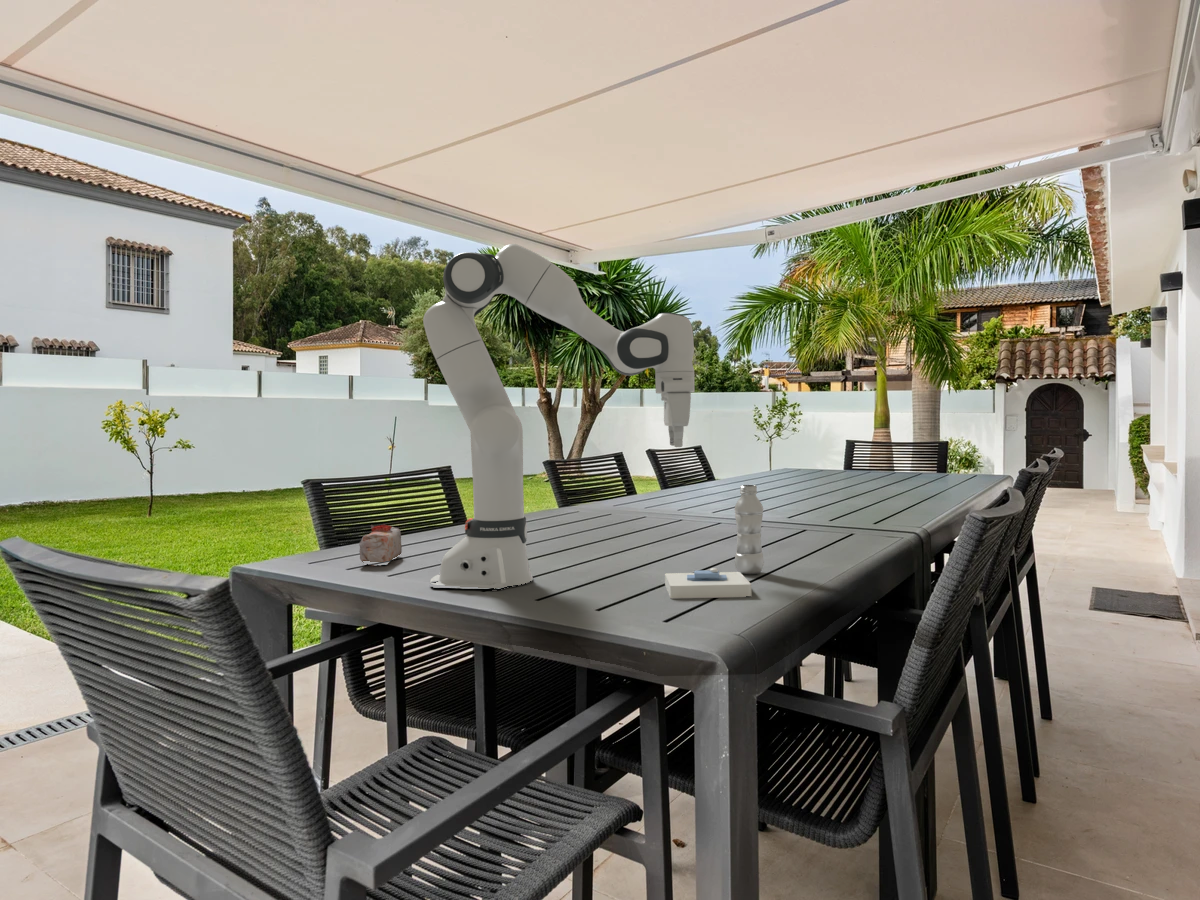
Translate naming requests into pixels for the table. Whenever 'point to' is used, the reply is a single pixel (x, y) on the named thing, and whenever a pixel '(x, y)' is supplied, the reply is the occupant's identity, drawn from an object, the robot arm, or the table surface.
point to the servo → (706, 575)
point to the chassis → (707, 586)
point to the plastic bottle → (749, 531)
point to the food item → (381, 544)
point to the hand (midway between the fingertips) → (676, 446)
